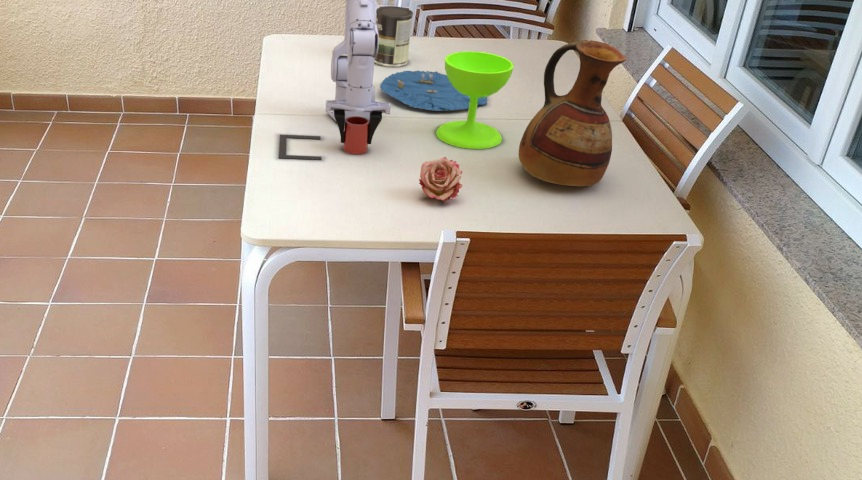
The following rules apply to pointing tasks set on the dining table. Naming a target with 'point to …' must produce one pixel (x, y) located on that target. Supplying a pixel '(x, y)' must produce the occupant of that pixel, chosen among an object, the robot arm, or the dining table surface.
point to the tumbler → (356, 135)
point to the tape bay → (283, 155)
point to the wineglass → (474, 96)
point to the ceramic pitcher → (572, 121)
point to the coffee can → (393, 35)
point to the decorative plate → (426, 91)
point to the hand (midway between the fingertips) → (355, 141)
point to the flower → (440, 179)
